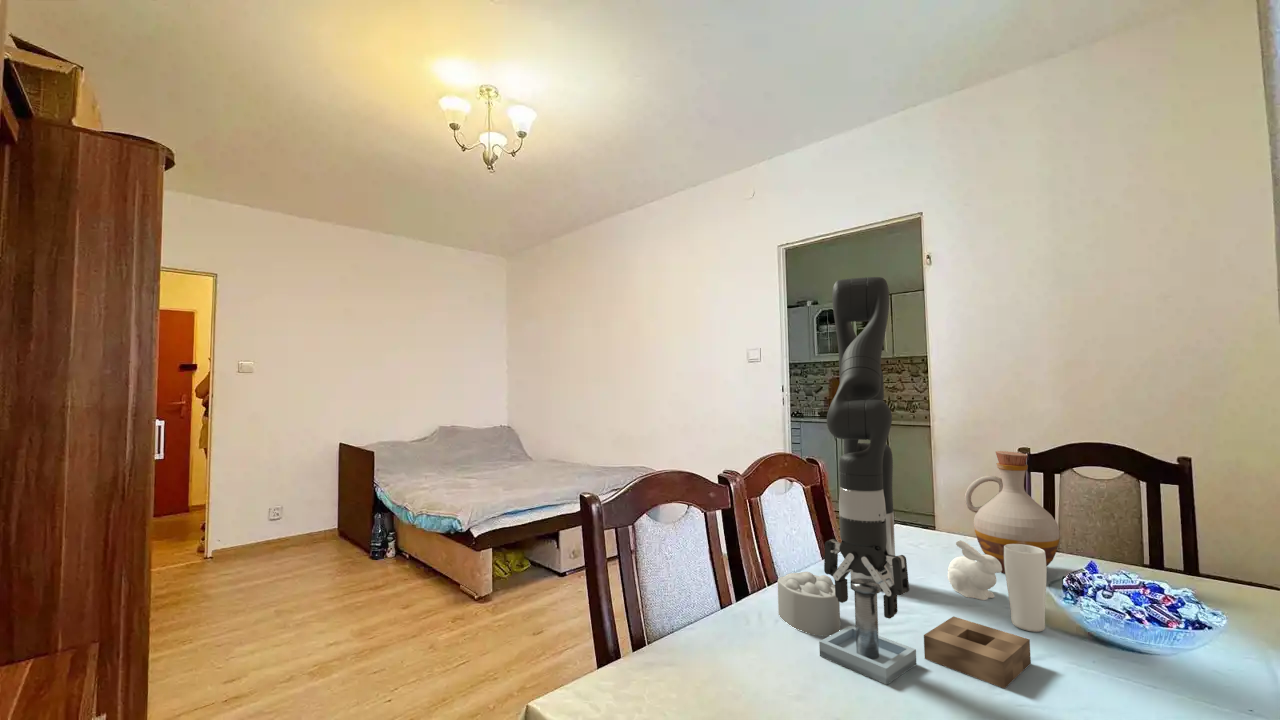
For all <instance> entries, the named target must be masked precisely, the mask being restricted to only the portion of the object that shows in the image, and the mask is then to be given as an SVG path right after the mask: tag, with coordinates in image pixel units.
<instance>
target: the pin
mask: <svg viewBox="0 0 1280 720" xmlns="http://www.w3.org/2000/svg"><path fill="white" fill-rule="evenodd" d="M849 583H850V590H852V591H854V615H855V617H854V618H855V619H854V622H855V627H856V653H857V654H859V655H862V656H864V657H867V658H869V659H872V660H873V659H877V658H879V638H878V636H879V619H878V618H879V612H878V594H880V593H881V591H882V589H881V587H880V585H879V584H878V583H876V582H875V581H874V580H871V579H865V578H856V579H852V580H851V579H850V582H849Z"/></svg>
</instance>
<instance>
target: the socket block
mask: <svg viewBox="0 0 1280 720" xmlns="http://www.w3.org/2000/svg"><path fill="white" fill-rule="evenodd" d="M1030 640H1031V639H1029V638H1026V637H1024V636H1020V635H1016V634H1013V633H1010V632H1006V631H1003V630H1000V629H997V628H994V627H991V626H987V625H984V624H981V623H977V622H974V621H970V620H967V619H963V618H960V617H958V616H952V617H950V618H948V619H947V620H945V621H944V622H942V623H941V624H939V625H937V626H936V627H934V628H933V629H931V630H929V631H928V632H926V633H925V634H923V651H924V652H923V653H924V660H927V661H930V662H932V663H936V664H937V665H940V666H943V667H945V668H948V669H950V670H954V671H956V672H959V673H962V674H965V675H968V676H970V677H972V678H975V679H977V680H981V681H983V682H986V683H988V684H992V685H994V686H996V687H999V688H1002V689H1006V688H1007V687H1008V686H1009V685H1010V684H1011V683H1012V682H1013V681H1014V680H1015V679H1017V678H1018V676H1020V675H1021V674H1022V673H1023V672H1024V671H1025V670H1026V669H1027V668H1028V667H1029V666H1030V665H1031V664H1032V660H1031V643H1030V642H1031V641H1030Z"/></svg>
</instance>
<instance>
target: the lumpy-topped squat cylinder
mask: <svg viewBox="0 0 1280 720" xmlns="http://www.w3.org/2000/svg"><path fill="white" fill-rule="evenodd" d="M777 602H778V603H777V604H778V605H777V609H778V611H777V612H778V613H777V614H778V616H779V615H780V617H781V618H782V619H783V620H784V621H785V622H787V623H788V624H789V625H791V626H792V627H794V628H796V629H799V630H802V631H804V632H803V633H805V632H807V633H806V634H808V633H810V634H809V635H812V634H815V635H814V636H817V635H823V636H822V637H829V636H828V635H833V634H835V633H837V632H838V631H839V630H841V610H840V609H841V607H840V603H841V602H838V598H836V595H835V583H834V582H833V579H832V578H831V577H830V576H828V575H827V574H823V575H820V576H819V575H816V574H813V573H811V572H810V571H802V572H801V571H800V572H792V573H791V572H790V573H788V574H786V575H784V576H779V578H778V579H777ZM780 617H779V618H780ZM781 618H780V619H781ZM782 619H781V620H782ZM783 620H782V621H783ZM784 621H783V622H784ZM785 622H784V623H785ZM788 624H787V625H788ZM789 625H788V626H789ZM791 626H790V627H791ZM792 627H791V628H792ZM794 628H793V629H794ZM796 629H795V630H796ZM799 630H798V631H799Z"/></svg>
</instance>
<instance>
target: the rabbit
mask: <svg viewBox="0 0 1280 720" xmlns="http://www.w3.org/2000/svg"><path fill="white" fill-rule="evenodd" d="M955 545H956V547H957V548H959V549H961V554H962V555H961V556H956V557H954V558H953V559H952V560H951V561H950V563H949V565H948V568H947V579H948V580H947V581H948V582H949V584H950V585H951V587H952V589H953V590H954V591H955V592H956V593H959V594H960V595H962V596H963V597H964V598H969V599H971V598H972V599H976V600H980V601H988V599H993V598H995V594H994V593H993V592H992V591H990V589H991V588H993V587H994V586H995V585H996V584H997V575H996V574H1001V573H1002V572H1001V571H1002V566H1001V563H1000V562H999V561H998V560H997V559H996V558H995V557H993V556H991V555H986V554H985V553H984V554H982V553H981V552H979V550H977V549H975V548H974V547H973V546H971V545H970V544H969V543H967V542H966V541H963V540H956V542H955Z"/></svg>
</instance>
